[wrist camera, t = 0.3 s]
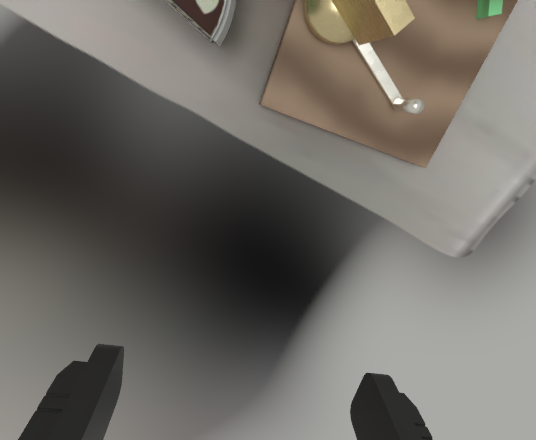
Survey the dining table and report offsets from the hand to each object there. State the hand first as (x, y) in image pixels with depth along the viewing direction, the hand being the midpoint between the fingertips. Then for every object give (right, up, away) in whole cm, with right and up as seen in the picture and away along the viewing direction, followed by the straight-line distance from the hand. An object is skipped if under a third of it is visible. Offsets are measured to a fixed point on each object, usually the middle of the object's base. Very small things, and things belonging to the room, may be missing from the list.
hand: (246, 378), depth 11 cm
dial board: (+12, +23, +21) cm, 34 cm away
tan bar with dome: (+9, +21, +19) cm, 30 cm away
